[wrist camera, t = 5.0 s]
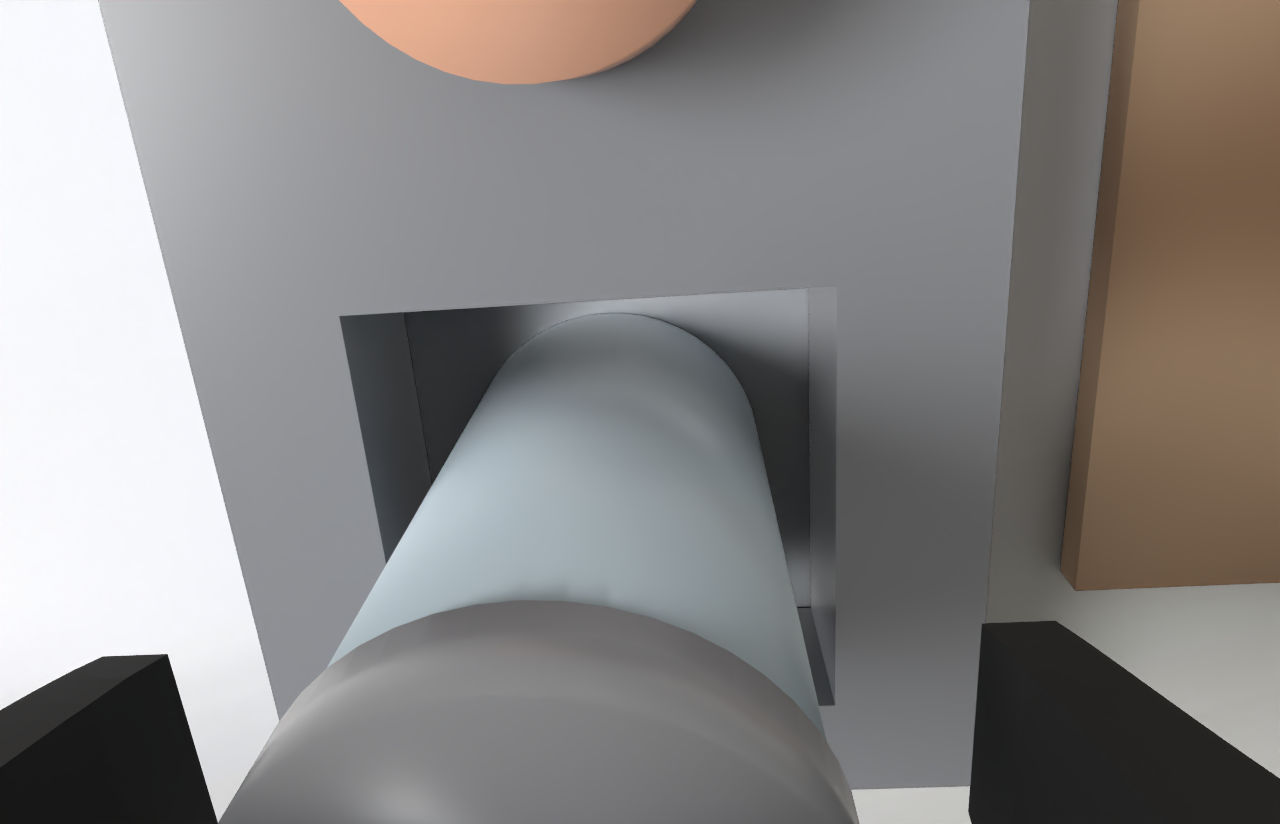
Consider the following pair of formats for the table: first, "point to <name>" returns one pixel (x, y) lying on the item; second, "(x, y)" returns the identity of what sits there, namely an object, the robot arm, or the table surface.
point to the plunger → (521, 34)
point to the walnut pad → (1183, 308)
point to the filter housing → (604, 289)
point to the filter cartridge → (574, 618)
